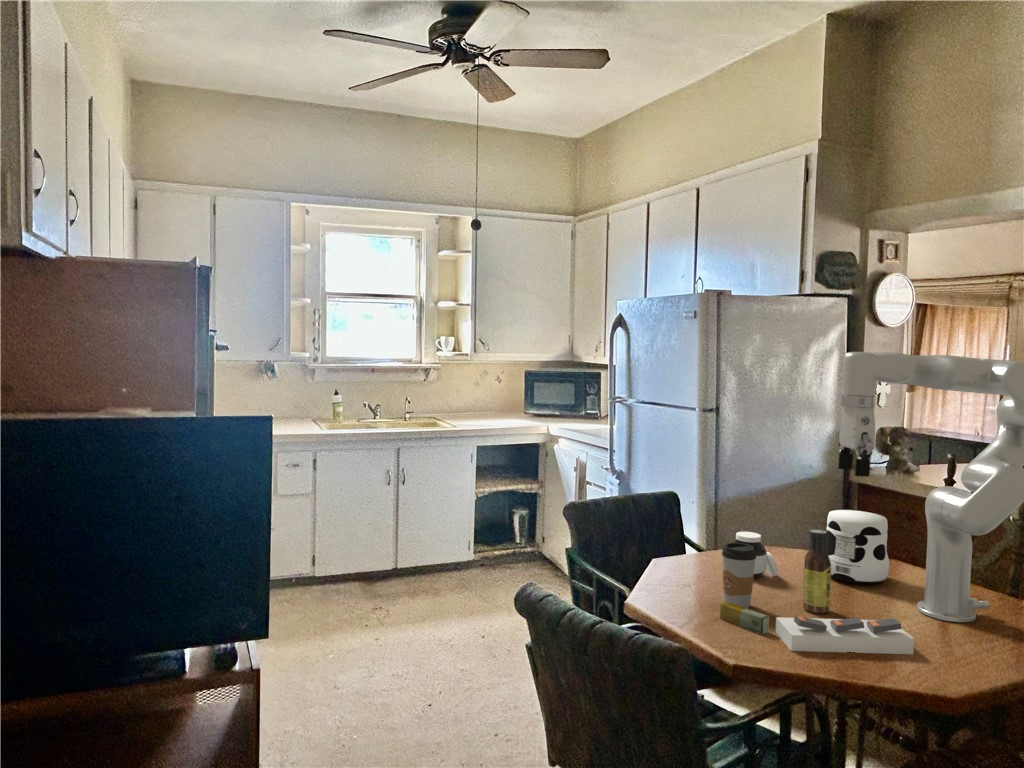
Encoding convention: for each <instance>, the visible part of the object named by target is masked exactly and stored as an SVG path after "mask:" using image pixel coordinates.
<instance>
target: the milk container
mask: <svg viewBox="0 0 1024 768" xmlns="http://www.w3.org/2000/svg"><path fill="white" fill-rule="evenodd" d="M826 523H827V524H826V532H827V539H826V549H827V553H828V556H829V559H830V562H831V578H833V579H838V580H841V581H843V582H848V583H852V584H861V585H864V584H865V585H872V584H879V583H881V582H884V581H886V579H887V578H888V575H889V572H890V560H889V555H888V552H887V551H888V549H887V547H888V544H887V542H888V529H889V528H888V527H889V525H888V519H887V518H886V517H885V516H883V515H881V514H878V513H874V512H868V511H862V510H853V509H836V510H835V509H834V510H831V511H829V512H828V515H827V520H826Z"/></svg>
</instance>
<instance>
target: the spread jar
mask: <svg viewBox="0 0 1024 768" xmlns="http://www.w3.org/2000/svg"><path fill="white" fill-rule="evenodd" d="M761 541H762V535H761V534H760V533H756V532H752V531H738V532H736V534H735V539H734V540H733V542H732V543H743V544H748V545H751V546H753V547H754V551H755V552H756V559H755V566H754V578H753V579H758V578H760V577H761V576H763V575H764V574H765V573H766V571H767V572H768V574H769V575H770V576H771V577H775V576H776V577H777V576H778V575H779V568H778V565H777V562H776V560H775V558H774V556H773V555H772V554H771V553H770V552H769V551H767V549H766V547H765V546H764V544H763V542H761Z"/></svg>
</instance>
